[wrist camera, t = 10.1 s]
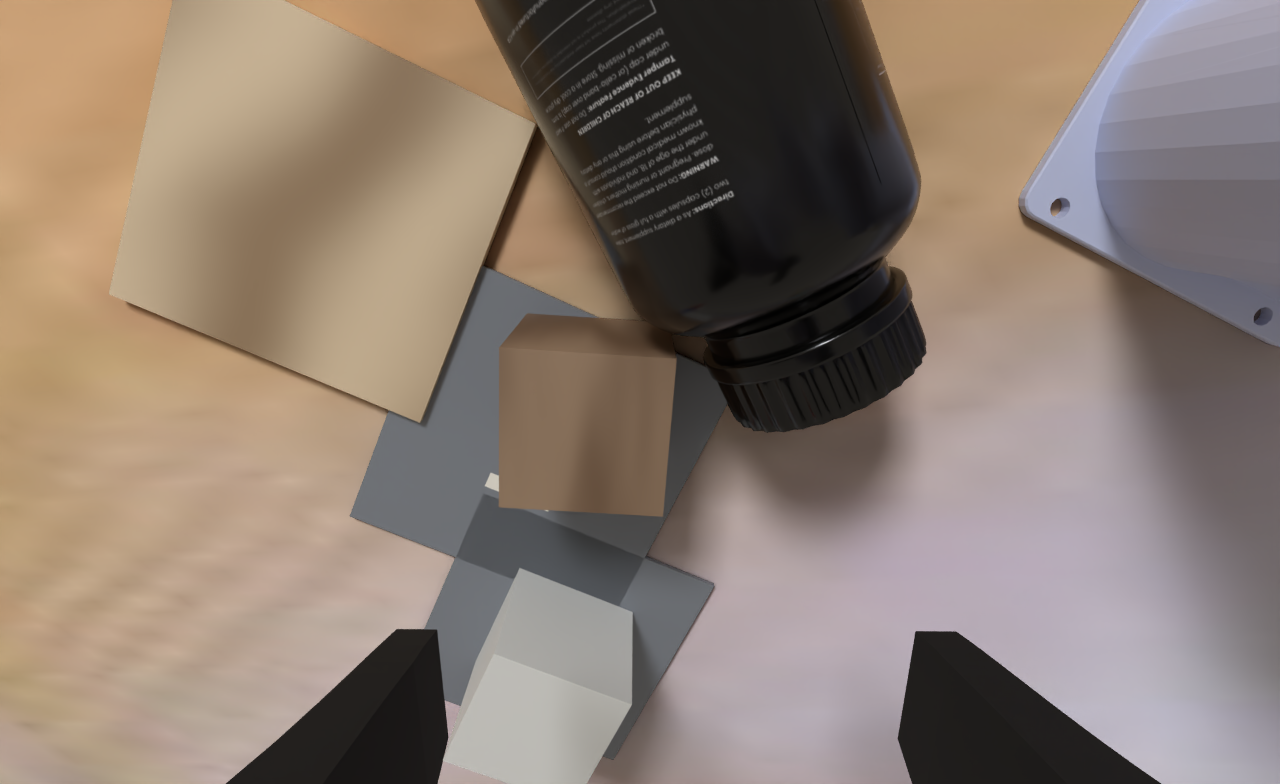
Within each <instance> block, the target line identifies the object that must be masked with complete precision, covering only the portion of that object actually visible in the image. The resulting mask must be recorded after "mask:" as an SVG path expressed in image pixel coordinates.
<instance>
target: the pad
mask: <svg viewBox="0 0 1280 784" xmlns="http://www.w3.org/2000/svg"><path fill="white" fill-rule="evenodd" d="M537 126H538V125H537V124H535V123H533V122H531V121H529V120H527V119H525V118H523V117H521V116H519V115H517V114H515V113H513V112H511V111H509V110H507V109H505V108H502V107H500V106H498V105H496V104H494V103H492V102H490V101H488V100H486V99H484V98H482V97H480V96H478V95H476V94H474V93H472V92H470V91H468V90H466V89H464V88H462V87H460V86H458V85H456V84H454V83H452V82H450V81H447V80H445V79H443V78H441V77H439V76H437V75H435V74H433V73H431V72H429V71H427V70H425V69H423V68H421V67H419V66H417V65H415V64H413V63H411V62H409V61H407V60H405V59H403V58H401V57H399V56H397V55H395V54H392V53H390V52H388V51H386V50H384V49H382V48H380V47H378V46H376V45H374V44H372V43H370V42H368V41H366V40H364V39H362V38H360V37H358V36H356V35H354V34H352V33H350V32H348V31H346V30H344V29H342V28H340V27H337V26H335V25H333V24H331V23H329V22H327V21H325V20H323V19H321V18H319V17H317V16H315V15H313V14H311V13H309V12H307V11H305V10H303V9H301V8H299V7H297V6H295V5H293V4H291V3H289V2H287V1H285V0H173V1H172V6H171V10H170V15H169V19H168V24H167V29H166V33H165V38H164V42H163V47H162V52H161V56H160V61H159V65H158V70H157V75H156V79H155V84H154V88H153V93H152V98H151V102H150V107H149V111H148V116H147V121H146V125H145V130H144V134H143V139H142V144H141V148H140V153H139V157H138V162H137V167H136V171H135V176H134V180H133V185H132V190H131V194H130V199H129V203H128V208H127V213H126V217H125V222H124V226H123V231H122V236H121V240H120V245H119V249H118V254H117V259H116V263H115V268H114V272H113V277H112V282H111V286H110V291H109V294H110V295H112V296H114V297H117V298H119V299H122V300H124V301H126V302H129V303H131V304H134V305H136V306H139V307H141V308H143V309H146V310H148V311H151V312H153V313H155V314H158V315H160V316H163V317H165V318H168V319H170V320H172V321H175V322H177V323H180V324H182V325H185V326H187V327H189V328H192V329H194V330H197V331H199V332H201V333H204V334H206V335H209V336H211V337H214V338H216V339H218V340H221V341H223V342H226V343H228V344H230V345H233V346H235V347H238V348H240V349H243V350H245V351H247V352H250V353H252V354H255V355H257V356H259V357H262V358H264V359H267V360H269V361H272V362H274V363H276V364H279V365H281V366H284V367H286V368H289V369H291V370H293V371H296V372H298V373H301V374H303V375H305V376H308V377H310V378H313V379H315V380H318V381H320V382H322V383H325V384H327V385H330V386H332V387H334V388H337V389H339V390H342V391H344V392H347V393H349V394H351V395H354V396H356V397H359V398H361V399H363V400H366V401H368V402H371V403H373V404H376V405H378V406H380V407H383V408H385V409H388V410H390V411H393V412H395V413H397V414H400V415H402V416H405V417H407V418H409V419H412V420H414V421H417V422H419V423H420V422H421V421H422V420H423V417H424V415H425V412H426V410H427V407H428V405H429V402H430V399H431V397H432V394H433V392H434V389H435V386H436V384H437V381H438V379H439V376H440V374H441V371H442V368H443V366H444V363H445V361H446V358H447V355H448V353H449V350H450V348H451V345H452V343H453V340H454V337H455V335H456V332H457V330H458V327H459V325H460V322H461V319H462V317H463V314H464V312H465V309H466V306H467V304H468V301H469V299H470V296H471V294H472V291H473V288H474V286H475V283H476V281H477V278H478V276H479V273H480V270H481V268H482V266H483V265H484V263H485V260H486V258H487V255H488V252H489V250H490V247H491V245H492V242H493V239H494V237H495V234H496V232H497V229H498V227H499V224H500V221H501V219H502V216H503V214H504V211H505V209H506V206H507V203H508V201H509V198H510V196H511V193H512V191H513V188H514V185H515V183H516V180H517V178H518V175H519V172H520V170H521V167H522V165H523V162H524V160H525V157H526V154H527V152H528V149H529V147H530V144H531V142H532V139H533V136H534V134H535V131H536V129H537Z"/></svg>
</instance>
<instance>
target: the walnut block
mask: <svg viewBox="0 0 1280 784" xmlns="http://www.w3.org/2000/svg"><path fill="white" fill-rule="evenodd" d="M676 362H677V358H676V354H675V349H674V345H673V341H672V337H671V333H668V332H665V331H663V330H660V329H658V328H657V327H655V326H653V325H651V324H650V323H648V322H647V321H638V320H622V319H607V318H591V317H576V316H561V315H545V314H530V313H527V314H526V315H525V316H524V318H523V319H522V320H521V321H520V322H519V324H518V325H517V326H516V327H515V329H514V330H513V331H512V332H511V334H510V335H509V336H508V337H507V338H506V340H505V341H504V342H503V343H502V345H501V346H500V347H499V507H501V508H519V509H537V510H554V511H572V512H590V513H607V514H625V515H643V516H660V517H663V510H664V498H665V487H666V476H667V464H668V453H669V441H670V430H671V419H672V407H673V396H674V384H675V373H676Z"/></svg>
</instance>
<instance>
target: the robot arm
mask: <svg viewBox="0 0 1280 784" xmlns="http://www.w3.org/2000/svg"><path fill="white" fill-rule="evenodd" d="M1056 199H1059V200H1060V201H1061V205H1062V207H1061V210H1060V212H1059V213H1058V214H1057V215H1056V216H1052V214H1051V212H1050V207H1051V204H1052V203H1053V202H1054V201H1055V200H1056ZM1019 207H1020V210H1021V212H1022V213H1023V214H1024V215H1025V216H1026V217H1028V218H1030V219H1032V220H1034V221H1036V222H1038V223H1040V224H1042V225H1044V226H1045V227H1047V228H1049V229H1051V230H1053V231H1055V232H1057V233H1059V234H1061V235H1062V236H1064V237H1066V238H1068V239H1070V240H1072V241H1074V242H1076V243H1078V244H1080V245H1081V246H1083V247H1085V248H1087V249H1089V250H1091V251H1093V252H1095V253H1097V254H1098V255H1100V256H1102V257H1104V258H1106V259H1108V260H1110V261H1112V262H1114V263H1115V264H1117V265H1119V266H1121V267H1123V268H1125V269H1127V270H1129V271H1131V272H1133V273H1134V274H1136V275H1138V276H1140V277H1142V278H1144V279H1146V280H1148V281H1150V282H1151V283H1153V284H1155V285H1157V286H1159V287H1161V288H1163V289H1165V290H1167V291H1169V292H1170V293H1172V294H1174V295H1176V296H1178V297H1180V298H1182V299H1184V300H1186V301H1187V302H1189V303H1191V304H1193V305H1195V306H1197V307H1199V308H1201V309H1203V310H1204V311H1206V312H1208V313H1210V314H1212V315H1214V316H1216V317H1218V318H1220V319H1222V320H1223V321H1225V322H1227V323H1229V324H1231V325H1233V326H1235V327H1237V328H1239V329H1240V330H1242V331H1244V332H1246V333H1248V334H1250V335H1252V336H1254V337H1256V338H1257V339H1259V340H1261V341H1263V342H1265V343H1267V344H1271V345H1274V346H1278V347H1280V0H1139V2H1138V4H1137V5H1136V7H1135V8H1134V10H1133V12H1132V13H1131V15H1130V17H1129V18H1128V20H1127V21H1126V23H1125V25H1124V26H1123V28H1122V30H1121V31H1120V33H1119V34H1118V36H1117V38H1116V39H1115V41H1114V43H1113V44H1112V46H1111V47H1110V49H1109V51H1108V52H1107V54H1106V56H1105V57H1104V59H1103V60H1102V62H1101V64H1100V65H1099V67H1098V68H1097V70H1096V72H1095V73H1094V75H1093V77H1092V78H1091V80H1090V81H1089V83H1088V85H1087V86H1086V88H1085V90H1084V91H1083V93H1082V94H1081V96H1080V98H1079V99H1078V101H1077V103H1076V104H1075V106H1074V107H1073V109H1072V111H1071V112H1070V114H1069V116H1068V117H1067V119H1066V120H1065V122H1064V124H1063V125H1062V127H1061V129H1060V130H1059V132H1058V133H1057V135H1056V137H1055V138H1054V140H1053V142H1052V143H1051V145H1050V146H1049V148H1048V150H1047V151H1046V153H1045V154H1044V156H1043V158H1042V159H1041V161H1040V163H1039V164H1038V166H1037V167H1036V169H1035V171H1034V172H1033V174H1032V176H1031V177H1030V179H1029V180H1028V182H1027V184H1026V185H1025V187H1024V189H1023V190H1022V192H1021V195H1020V197H1019ZM1260 308H1261V314H1260V316H1259V318H1258V319H1257V320H1256V321H1254V315H1255V313H1256V312H1257V311H1258V310H1259V309H1260ZM447 741H448V729H447V720H446V710H445V700H444V690H443V681H442V671H441V661H440V651H439V642H438V632H437V629H397V630H395V631H394V632H393V633H392V634H391V635H390V636H389V637H388V638H387V639H386V640H385V641H383V642H382V643H381V644H380V645H379V646H378V647H377V648H376V649H375V650H374V651H373V652H372V653H371V654H369V655H368V656H367V657H366V658H365V659H364V660H363V661H362V662H361V663H360V664H359V665H358V666H357V667H356V668H355V669H354V670H353V671H352V672H350V673H349V674H348V675H347V676H346V677H345V678H344V679H343V680H342V681H341V682H340V683H339V684H338V685H337V686H336V687H335V688H334V689H332V690H331V691H330V692H329V693H328V694H327V695H326V696H325V697H324V698H323V699H322V700H321V701H320V702H319V703H317V704H316V705H315V706H314V707H313V708H312V709H311V710H310V711H309V712H308V713H306V714H305V715H304V716H303V717H302V718H301V719H300V720H299V721H298V722H297V723H295V724H294V725H293V726H292V727H291V728H290V729H289V730H288V731H287V732H286V733H285V734H283V735H282V736H281V737H280V738H279V739H278V740H277V741H276V742H274V743H273V744H272V745H271V746H270V747H269V748H267V749H266V750H265V751H264V752H263V753H261V754H260V755H259V756H258V757H257V758H256V759H254V760H253V761H252V762H251V763H250V764H248V765H247V766H246V767H245V768H244V769H243V770H241V771H240V772H239V773H238V774H237V775H235V776H234V777H233V778H232V779H231V780H230V781H228V782H227V783H226V784H437V783H438V779H439V775H440V771H441V767H442V762H443V758H444V754H445V750H446V745H447ZM898 741H899V744H900V747H901V750H902V753H903V757H904V760H905V763H906V766H907V769H908V772H909V775H910V778H911V781H912V784H1161V783H1159V782H1158V781H1157V780H1155V779H1154V778H1152V777H1151V776H1149V775H1148V774H1146V773H1145V772H1144V771H1142V770H1141V769H1139V768H1138V767H1136V766H1135V765H1134V764H1132V763H1131V762H1129V761H1128V760H1127V759H1125V758H1124V757H1122V756H1121V755H1120V754H1118V753H1117V752H1116V751H1114V750H1113V749H1111V748H1110V747H1109V746H1107V745H1106V744H1105V743H1103V742H1102V741H1100V740H1099V739H1098V738H1096V737H1095V736H1094V735H1092V734H1091V733H1090V732H1088V731H1087V730H1086V729H1084V728H1083V727H1082V726H1080V725H1079V724H1078V723H1076V722H1075V721H1074V720H1072V719H1071V718H1070V717H1068V716H1067V715H1066V714H1064V713H1063V712H1062V711H1060V710H1059V709H1058V708H1056V707H1055V706H1054V705H1053V704H1051V703H1050V702H1049V701H1047V700H1046V699H1045V698H1043V697H1042V696H1041V695H1039V694H1038V693H1037V692H1036V691H1034V690H1033V689H1032V688H1030V687H1029V686H1028V685H1027V684H1025V683H1024V682H1023V681H1021V680H1020V679H1019V678H1017V677H1016V676H1015V675H1014V674H1012V673H1011V672H1010V671H1008V670H1007V669H1006V668H1005V667H1003V666H1002V665H1001V664H999V663H998V662H997V661H995V660H994V659H993V658H991V657H990V656H989V655H988V654H986V653H985V652H984V651H982V650H981V649H980V648H978V647H977V646H976V645H974V644H973V643H971V642H970V641H969V640H967V639H966V638H964V637H963V636H962V635H960V634H959V633H957V632H938V631H916V632H915V638H914V644H913V650H912V656H911V662H910V668H909V674H908V680H907V686H906V692H905V698H904V704H903V710H902V716H901V722H900V728H899V734H898Z"/></svg>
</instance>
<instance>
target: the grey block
mask: <svg viewBox="0 0 1280 784" xmlns="http://www.w3.org/2000/svg"><path fill="white" fill-rule="evenodd" d="M632 627H633V612H631V611H629V610H626V609H624V608H621V607H618V606H616V605H613V604H611V603H608V602H606V601H603V600H601V599H598V598H595V597H593V596H590V595H588V594H585V593H583V592H580V591H577V590H575V589H572V588H570V587H567V586H565V585H562V584H560V583H557V582H554V581H552V580H549V579H547V578H544V577H542V576H539V575H536V574H534V573H531V572H529V571H526V570H524V569H521V568H519V570H518V573H517V575H516V577H515V579H514V581H513V583H512V585H511V587H510V589H509V592H508V594H507V596H506V598H505V600H504V602H503V604H502V606H501V609H500V611H499V613H498V615H497V617H496V619H495V621H494V623H493V626H492V628H491V630H490V632H489V634H488V636H487V638H486V640H485V643H484V645H483V647H482V649H481V651H480V653H479V655H478V657H477V660H476V662H475V665H474V668H473V671H472V674H471V677H470V680H469V683H468V686H467V689H466V692H465V695H464V698H463V701H462V704H461V707H460V710H459V713H458V716H457V719H456V722H455V725H454V728H453V731H452V734H451V737H450V740H449V743H448V746H447V749H446V752H445V755H444V758H443V761H444V762H447V763H450V764H453V765H456V766H459V767H461V768H464V769H467V770H470V771H473V772H476V773H479V774H482V775H485V776H488V777H491V778H494V779H497V780H500V781H502V782H505V783H508V784H587V782H588V780H589V779H590V777H591V775H592V773H593V772H594V770H595V768H596V766H597V765H598V763H599V761H600V759H601V758H602V756H603V754H604V752H605V751H606V749H607V747H608V745H609V744H610V742H611V740H612V738H613V737H614V735H615V733H616V732H617V730H618V728H619V726H620V725H621V723H622V721H623V719H624V718H625V716H626V714H627V712H628V711H629V709H630V707H631V705H632Z"/></svg>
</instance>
